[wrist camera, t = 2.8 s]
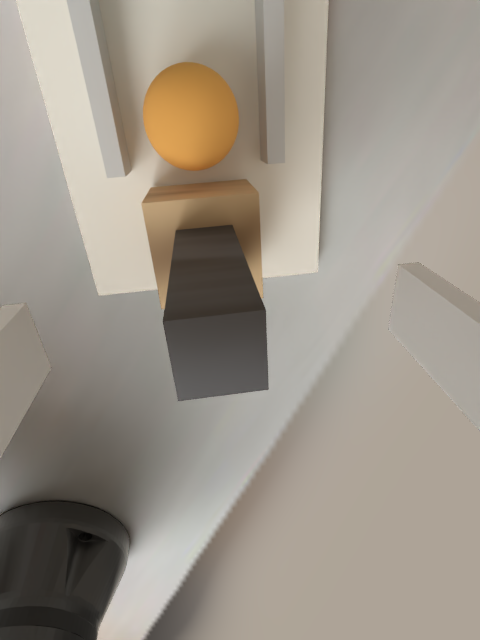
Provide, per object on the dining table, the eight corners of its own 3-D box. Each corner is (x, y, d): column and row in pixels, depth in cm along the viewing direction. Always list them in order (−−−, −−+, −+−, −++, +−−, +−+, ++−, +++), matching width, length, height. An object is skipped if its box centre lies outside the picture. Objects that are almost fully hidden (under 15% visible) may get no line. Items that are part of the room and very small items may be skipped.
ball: (236, 162, 23) (247, 172, 19) (156, 169, 23) (148, 180, 18) (230, 65, 21) (241, 50, 16) (140, 71, 20) (126, 58, 16)
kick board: (312, 265, 29) (328, 285, 25) (102, 287, 27) (89, 312, 24) (330, -342, 15) (371, -476, 12) (-69, -346, 14) (-153, -497, 11)
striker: (251, 268, 26) (311, 417, 13) (166, 276, 26) (141, 440, 13) (246, 178, 23) (317, 255, 10) (150, 187, 23) (96, 278, 10)
